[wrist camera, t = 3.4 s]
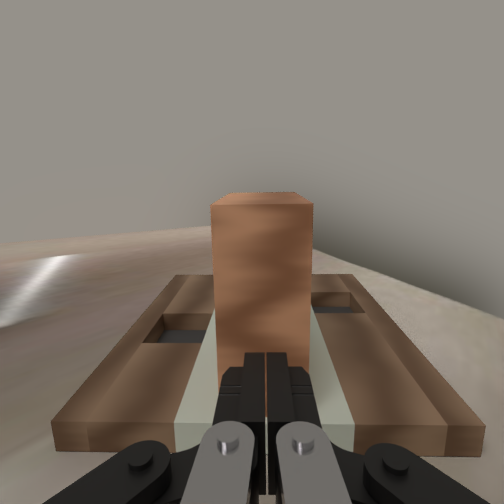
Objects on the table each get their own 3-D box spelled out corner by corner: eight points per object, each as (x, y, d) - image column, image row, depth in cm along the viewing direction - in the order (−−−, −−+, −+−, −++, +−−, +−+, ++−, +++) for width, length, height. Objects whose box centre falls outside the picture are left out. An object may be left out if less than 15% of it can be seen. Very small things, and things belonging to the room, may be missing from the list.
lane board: (56, 450, 19) (45, 390, 19) (176, 288, 47) (174, 260, 46) (480, 456, 19) (491, 393, 18) (351, 288, 46) (352, 259, 45)
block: (219, 416, 19) (210, 204, 16) (234, 334, 29) (229, 192, 26) (307, 417, 19) (313, 203, 16) (292, 334, 29) (294, 192, 26)
